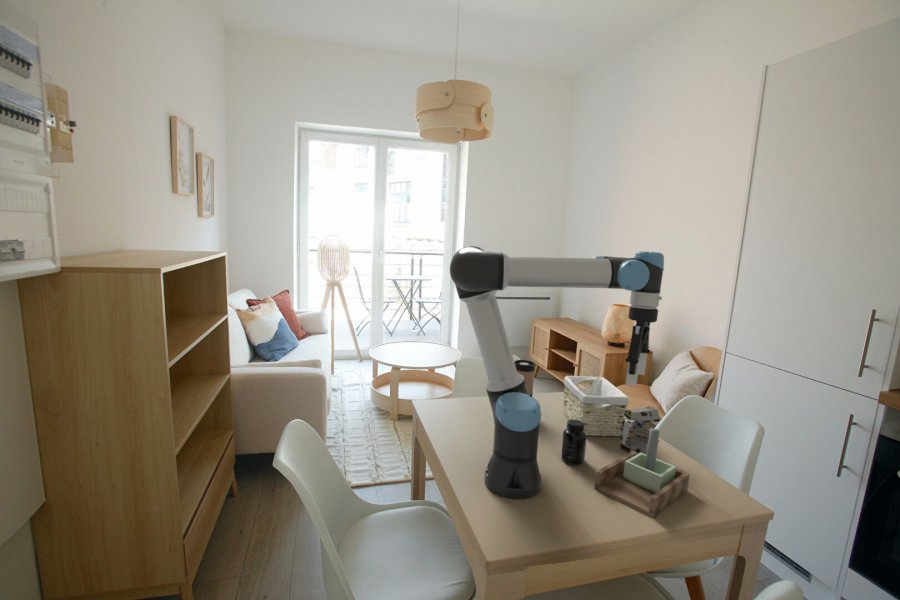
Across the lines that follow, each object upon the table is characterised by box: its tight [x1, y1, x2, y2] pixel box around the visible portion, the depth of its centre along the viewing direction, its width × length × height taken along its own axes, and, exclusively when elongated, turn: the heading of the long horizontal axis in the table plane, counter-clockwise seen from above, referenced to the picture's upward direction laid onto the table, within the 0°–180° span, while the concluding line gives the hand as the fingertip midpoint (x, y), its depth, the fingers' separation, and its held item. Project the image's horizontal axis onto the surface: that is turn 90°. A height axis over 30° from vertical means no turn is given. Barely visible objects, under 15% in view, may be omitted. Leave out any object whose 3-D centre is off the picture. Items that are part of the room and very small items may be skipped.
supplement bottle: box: [561, 419, 587, 466], centre depth 138 cm, size 7×7×12 cm
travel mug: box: [514, 359, 536, 397], centre depth 172 cm, size 8×8×20 cm
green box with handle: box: [623, 427, 677, 493], centre depth 125 cm, size 9×10×15 cm
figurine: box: [619, 406, 661, 454], centre depth 144 cm, size 9×12×15 cm
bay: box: [594, 451, 691, 519], centre depth 123 cm, size 20×16×5 cm
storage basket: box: [563, 375, 629, 437], centre depth 166 cm, size 24×16×15 cm
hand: (635, 379), depth 132 cm, fingers open, 13 cm apart
